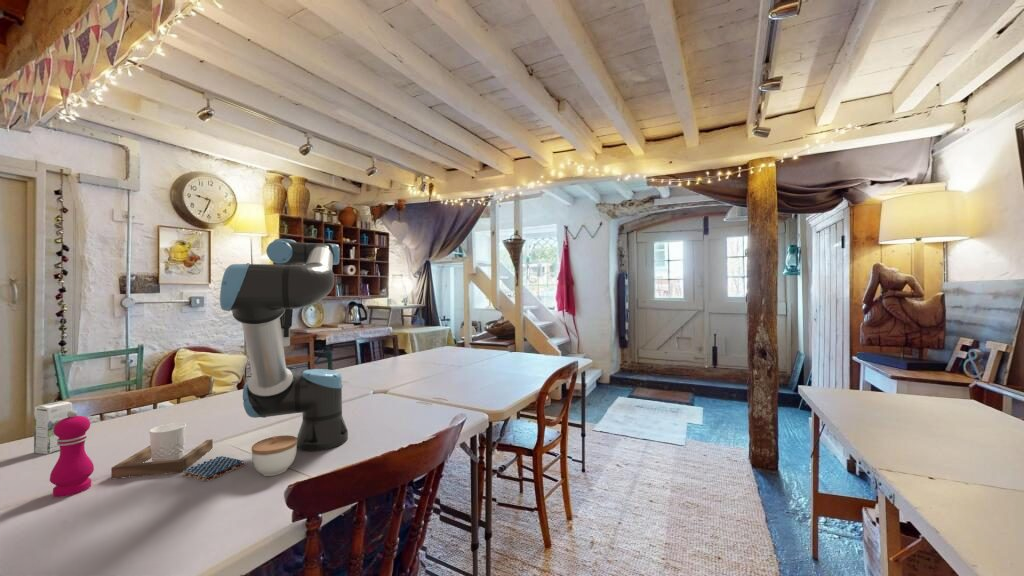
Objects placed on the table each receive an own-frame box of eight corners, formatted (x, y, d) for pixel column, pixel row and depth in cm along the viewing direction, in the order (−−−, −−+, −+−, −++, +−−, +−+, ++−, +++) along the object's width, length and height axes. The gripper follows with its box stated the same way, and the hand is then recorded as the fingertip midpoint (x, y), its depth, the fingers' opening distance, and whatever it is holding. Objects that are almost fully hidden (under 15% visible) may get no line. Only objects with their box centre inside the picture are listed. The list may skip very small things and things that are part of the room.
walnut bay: (151, 454, 116) (151, 444, 116) (212, 448, 119) (212, 439, 119) (111, 479, 101) (111, 467, 101) (182, 471, 104) (182, 461, 104)
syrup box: (58, 445, 122) (58, 400, 122) (72, 447, 121) (72, 401, 121) (33, 453, 117) (33, 406, 117) (47, 454, 116) (47, 407, 116)
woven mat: (206, 484, 99) (206, 476, 99) (180, 477, 102) (180, 470, 102) (247, 466, 108) (247, 459, 108) (222, 461, 112) (222, 454, 112)
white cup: (161, 469, 106) (161, 433, 106) (142, 465, 108) (142, 430, 108) (192, 457, 113) (192, 424, 113) (174, 454, 116) (174, 421, 116)
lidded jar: (242, 476, 102) (242, 441, 102) (279, 459, 112) (279, 427, 112) (269, 483, 98) (269, 447, 98) (306, 465, 108) (306, 432, 108)
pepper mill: (53, 501, 90) (52, 417, 90) (46, 493, 94) (46, 412, 94) (97, 488, 96) (97, 408, 96) (90, 480, 100) (89, 404, 100)
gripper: (301, 281, 137) (301, 346, 137) (291, 282, 147) (291, 343, 147) (277, 281, 132) (277, 349, 132) (269, 282, 142) (269, 345, 141)
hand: (285, 346), depth 139 cm, fingers closed
